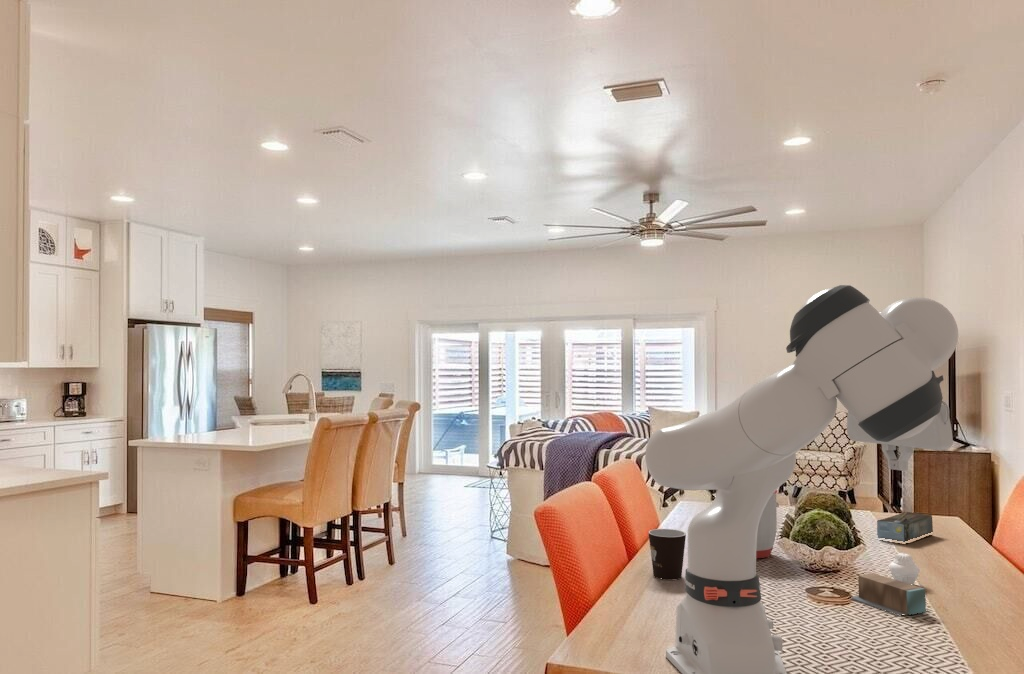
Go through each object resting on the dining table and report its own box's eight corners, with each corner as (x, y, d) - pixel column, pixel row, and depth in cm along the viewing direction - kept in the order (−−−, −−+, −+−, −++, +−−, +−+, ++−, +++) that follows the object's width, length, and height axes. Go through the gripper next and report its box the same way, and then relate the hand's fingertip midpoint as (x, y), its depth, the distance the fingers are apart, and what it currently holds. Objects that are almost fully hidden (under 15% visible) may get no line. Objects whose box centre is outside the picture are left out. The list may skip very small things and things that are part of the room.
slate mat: (928, 611, 146) (928, 609, 146) (899, 616, 143) (899, 614, 143) (876, 594, 157) (876, 592, 157) (849, 598, 154) (849, 597, 154)
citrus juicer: (797, 558, 187) (795, 479, 188) (742, 564, 180) (741, 483, 181) (755, 544, 201) (754, 471, 202) (703, 550, 195) (702, 474, 196)
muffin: (902, 579, 168) (902, 548, 168) (926, 586, 162) (925, 554, 163) (882, 581, 166) (882, 550, 166) (906, 589, 160) (905, 557, 160)
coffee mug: (687, 582, 165) (686, 537, 166) (648, 580, 167) (648, 536, 167) (685, 568, 176) (685, 527, 177) (649, 566, 178) (648, 525, 179)
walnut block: (925, 588, 144) (873, 573, 155) (909, 591, 143) (858, 575, 154) (925, 611, 144) (874, 594, 155) (909, 614, 142) (858, 597, 153)
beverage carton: (875, 540, 207) (875, 517, 207) (905, 531, 219) (905, 509, 219) (904, 546, 200) (904, 522, 201) (934, 536, 212) (934, 513, 213)
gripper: (960, 398, 130) (962, 476, 129) (863, 394, 149) (865, 462, 148) (935, 398, 127) (937, 478, 127) (840, 394, 146) (842, 464, 145)
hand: (897, 469), depth 137 cm, fingers closed
